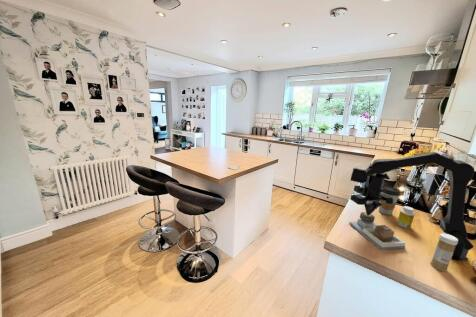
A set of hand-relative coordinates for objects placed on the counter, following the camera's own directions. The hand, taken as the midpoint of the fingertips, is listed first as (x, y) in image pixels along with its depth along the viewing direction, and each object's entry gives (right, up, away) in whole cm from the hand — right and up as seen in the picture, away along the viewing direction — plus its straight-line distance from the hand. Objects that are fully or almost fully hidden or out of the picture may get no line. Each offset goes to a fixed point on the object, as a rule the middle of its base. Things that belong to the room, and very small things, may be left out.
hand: (367, 214), depth 95 cm
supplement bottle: (+22, -7, +5) cm, 24 cm away
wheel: (0, -2, +1) cm, 3 cm away
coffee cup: (+23, -4, +18) cm, 29 cm away
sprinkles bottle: (+12, -14, -22) cm, 28 cm away
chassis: (0, -9, -4) cm, 9 cm away
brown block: (+1, -8, -8) cm, 12 cm away
